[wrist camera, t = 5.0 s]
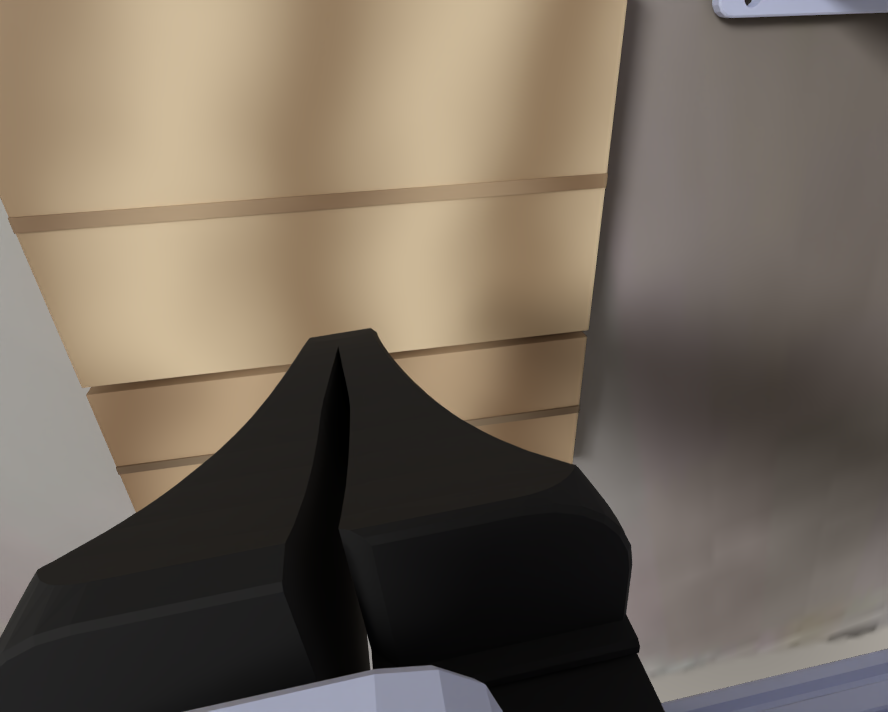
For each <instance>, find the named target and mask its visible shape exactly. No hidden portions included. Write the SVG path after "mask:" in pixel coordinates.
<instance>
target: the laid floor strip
mask: <svg viewBox="0 0 888 712" xmlns="http://www.w3.org/2000/svg"><path fill="white" fill-rule="evenodd" d="M586 340H587V337H586V336H585V334H584V333H583V332H582V331H576V332H567V333H558V334H550V335H541V336H532V337H523V338H515V339H506V340H497V341H488V342H480V343H471V344H462V345H453V346H444V347H436V348H427V349H418V350H409V351H401V352H392V353H389V354H390V355H391V357H392V358H393V359H394V360H395V361H396V363H397V364H398V365H399V366H400V367H401V368H402V369H403V370H404V372H405V373H406V374H407V375H408V376H409V377H410V378H411V379H412V380H413V381H414V382H415V383H416V384H417V385H418V386H419V387H420V388H422V389H423V390H424V391H425V392H426V393H427V394H428V395H429V396H431V397H432V398H433V399H434V400H435V401H437V402H438V403H439V404H440V405H442V406H443V407H445V408H446V409H447V410H449V411H450V412H451V413H453V414H454V415H456V416H457V417H459V418H460V419H462V420H464V421H465V422H467V423H469V424H471V425H473V426H474V427H476V428H478V429H480V430H482V431H484V432H486V433H487V434H490V435H492V436H494V437H496V438H498V439H500V440H503V441H505V442H508V443H510V444H512V445H515V446H517V447H520V448H522V449H525V450H528V451H530V452H534V453H537V454H540V455H544V456H547V457H550V458H554V459H557V460H560V461H563V462H567V463H570V464H572V462H573V453H574V445H575V436H576V427H577V418H578V413H579V408H580V406H579V401H580V392H581V384H582V375H583V366H584V358H585V349H586ZM290 366H291V364H287V365H278V366H269V367H260V368H252V369H243V370H234V371H225V372H216V373H208V374H199V375H190V376H181V377H173V378H164V379H155V380H146V381H138V382H129V383H120V384H111V385H102V386H94V387H91V388H90V390H89V392H88V393H87V395H86V396H87V398H88V401H89V403H90V405H91V408H92V410H93V412H94V415H95V417H96V419H97V422H98V424H99V426H100V429H101V431H102V434H103V436H104V438H105V441H106V443H107V445H108V448H109V450H110V452H111V455H112V457H113V459H114V462H115V464H116V466H117V467H116V469H117V472H118V474H119V475H120V476H121V478H122V481H123V483H124V485H125V488H126V490H127V492H128V495H129V497H130V499H131V502H132V504H133V506H134V509H135V511H136V512H138V511H140V510H141V509H143V508H144V507H146V506H147V505H149V504H150V503H152V502H153V501H154V500H156V499H157V498H159V497H160V496H162V495H163V494H164V493H166V492H167V491H169V490H170V489H171V488H173V487H174V486H175V485H177V484H178V483H179V482H180V481H182V480H183V479H184V478H185V477H187V476H188V475H189V474H190V473H192V472H193V471H194V470H195V469H197V468H198V467H199V466H200V465H201V464H203V463H204V462H205V461H206V460H208V459H209V458H210V457H211V456H213V455H214V454H215V453H216V452H217V451H218V450H219V449H220V448H221V447H222V446H223V445H224V444H226V443H227V442H228V441H229V440H230V439H231V438H232V437H233V436H234V435H235V434H236V433H237V432H238V431H239V430H240V429H241V428H242V427H243V426H244V425H245V424H246V423H247V422H248V420H249V419H250V418H251V417H252V416H253V415H254V414H255V412H256V411H257V410H258V409H259V407H260V406H261V405H262V404H263V403H264V401H265V400H266V399H267V398H268V397H269V395H270V394H271V393H272V391H273V390H274V388H275V387H276V386H277V384H278V383H279V382H280V380H281V379H282V377H283V376H284V375H285V373H286V372H287V370H288V369H289V367H290Z"/></svg>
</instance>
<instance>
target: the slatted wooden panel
mask: <svg viewBox="0 0 888 712" xmlns="http://www.w3.org/2000/svg"><path fill="white" fill-rule="evenodd" d="M626 6H627V0H0V198H1V200H2V202H3V205H4V207H5V209H6V212H7V214H8V216H9V218H8V220H9V222H10V225H11V227H12V229H13V232H14V234H16V235H17V237H18V240H19V242H20V244H21V247H22V249H23V251H24V254H25V256H26V258H27V261H28V263H29V265H30V268H31V270H32V272H33V275H34V277H35V279H36V282H37V284H38V286H39V289H40V291H41V293H42V296H43V298H44V300H45V303H46V305H47V307H48V309H49V312H50V314H51V316H52V319H53V321H54V323H55V326H56V328H57V330H58V333H59V335H60V337H61V340H62V342H63V344H64V347H65V349H66V351H67V354H68V356H69V358H70V361H71V363H72V365H73V368H74V370H75V372H76V375H77V377H78V379H79V382H80V384H81V386H82V388H85V387H94V386H102V385H111V384H120V383H129V382H138V381H146V380H155V379H164V378H173V377H181V376H190V375H199V374H208V373H216V372H225V371H234V370H243V369H252V368H260V367H269V366H278V365H287V364H292V363H293V361H294V360H295V358H296V357H297V355H298V354H299V352H300V351H301V349H302V347H303V346H304V345H305V343H306V342H307V341H308V339H309V338H311V337H318V336H324V335H330V334H336V333H342V332H348V331H355V330H361V329H367V328H372V329H373V330H374V331H376V332H377V334H378V337H379V339H380V341H381V342H382V344H383V345H384V347H385V348H386V350H387V351H388V353H392V352H401V351H409V350H418V349H427V348H436V347H444V346H453V345H462V344H471V343H480V342H488V341H497V340H506V339H515V338H523V337H532V336H541V335H550V334H558V333H567V332H576V331H585V330H588V329H589V320H590V312H591V303H592V295H593V286H594V278H595V269H596V261H597V252H598V244H599V235H600V227H601V218H602V210H603V201H604V193H605V188H606V185H607V176H608V174H607V167H608V159H609V150H610V142H611V133H612V125H613V116H614V108H615V99H616V91H617V82H618V74H619V65H620V57H621V48H622V40H623V31H624V23H625V14H626Z"/></svg>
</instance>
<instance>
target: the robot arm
mask: <svg viewBox="0 0 888 712" xmlns="http://www.w3.org/2000/svg"><path fill="white" fill-rule="evenodd" d="M712 6H713V9H714V12H715V13H716V14H717V15H718V16H719V17H723V18H744V17H772V16H801V15H829V14H857V13H886V12H888V0H752V1H751V2H750V3H749V4H748V6H747V5H746V4H745V0H712ZM631 570H632V553H631V544H630V543H629V541H628V539H627V537H626V535H625V533H624V530H623V528H622V527H621V525H620V523H619V521H618V519H617V518H616V516H615V515H614V513H613V511H612V510H611V508H610V507H609V506H608V504H607V503H606V502H605V500H604V499H603V498H602V496H601V495H600V494H599V492H598V491H597V490H596V489H595V487H594V486H593V485H592V484H591V482H590V481H589V480H588V479H587V477H586V476H585V475H584V474H583V473H582V471H581V470H580V469H579V468H578V467H577V466H576V465H573V464H570V463H567V462H563V461H560V460H557V459H554V458H550V457H547V456H544V455H540V454H537V453H534V452H530V451H528V450H525V449H522V448H520V447H517V446H515V445H512V444H510V443H508V442H505V441H503V440H500V439H498V438H496V437H494V436H492V435H490V434H487V433H486V432H484V431H482V430H480V429H478V428H476V427H474V426H473V425H471V424H469V423H467V422H465V421H464V420H462V419H460V418H459V417H457V416H456V415H454V414H453V413H451V412H450V411H449V410H447V409H446V408H445V407H443V406H442V405H440V404H439V403H438V402H437V401H435V400H434V399H433V398H432V397H431V396H429V395H428V394H427V393H426V392H425V391H424V390H423V389H422V388H420V387H419V386H418V385H417V384H416V383H415V382H414V381H413V380H412V379H411V378H410V377H409V376H408V375H407V374H406V373H405V372H404V370H403V369H402V368H401V367H400V366H399V365H398V364H397V363H396V361H395V360H394V359H393V358H392V357H391V355H390V354H389V353H388V351H387V350H386V348H385V347H384V345H383V344H382V342H381V341H380V339H379V337H378V334H377V332H376V331H374V330H373V329H372V328H367V329H361V330H355V331H348V332H342V333H336V334H330V335H324V336H318V337H311V338H309V339H308V341H307V342H306V343H305V345H304V346H303V347H302V349H301V351H300V352H299V354H298V355H297V357H296V358H295V360H294V361H293V363H292V364H291V366H290V367H289V369H288V370H287V372H286V373H285V375H284V376H283V377H282V379H281V380H280V382H279V383H278V384H277V386H276V387H275V388H274V390H273V391H272V393H271V394H270V395H269V397H268V398H267V399H266V400H265V401H264V403H263V404H262V405H261V406H260V407H259V409H258V410H257V411H256V412H255V414H254V415H253V416H252V417H251V418H250V419H249V420H248V422H247V423H246V424H245V425H244V426H243V427H242V428H241V429H240V430H239V431H238V432H237V433H236V434H235V435H234V436H233V437H232V438H231V439H230V440H229V441H228V442H227V443H226V444H224V445H223V446H222V447H221V448H220V449H219V450H218V451H217V452H216V453H215V454H214V455H213V456H211V457H210V458H209V459H208V460H206V461H205V462H204V463H203V464H201V465H200V466H199V467H198V468H197V469H195V470H194V471H193V472H192V473H190V474H189V475H188V476H187V477H185V478H184V479H183V480H182V481H180V482H179V483H178V484H177V485H175V486H174V487H173V488H171V489H170V490H169V491H167V492H166V493H164V494H163V495H162V496H160V497H159V498H157V499H156V500H154V501H153V502H152V503H150V504H149V505H147V506H146V507H144V508H143V509H141V510H140V511H138V512H136V513H135V514H133V515H132V516H130V517H129V518H127V519H126V520H124V521H123V522H121V523H119V524H118V525H116V526H114V527H113V528H111V529H110V530H108V531H106V532H105V533H103V534H101V535H99V536H97V537H96V538H94V539H92V540H90V541H89V542H87V543H85V544H83V545H81V546H80V547H78V548H76V549H74V550H73V551H71V552H69V553H67V554H66V555H64V556H62V557H60V558H58V559H57V560H55V561H53V562H51V563H49V564H47V565H45V566H43V567H42V568H40V569H38V570H37V572H36V573H35V575H34V577H33V578H32V580H31V582H30V583H29V585H28V587H27V589H26V591H25V592H24V594H23V596H22V598H21V600H20V601H19V603H18V605H17V607H16V609H15V611H14V613H13V615H12V616H11V618H10V620H9V622H8V624H7V626H6V628H5V630H4V632H3V634H2V636H1V637H0V712H888V649H884V650H880V651H876V652H872V653H868V654H864V655H859V656H855V657H851V658H847V659H843V660H838V661H834V662H830V663H826V664H822V665H818V666H814V667H809V668H805V669H801V670H797V671H793V672H789V673H785V674H781V675H777V676H772V677H768V678H764V679H760V680H756V681H751V682H747V683H743V684H739V685H735V686H731V687H726V688H722V689H718V690H714V691H710V692H706V693H701V694H697V695H693V696H689V697H685V698H681V699H676V700H672V701H668V702H664V703H661V702H660V700H659V698H658V696H657V694H656V692H655V690H654V688H653V686H652V684H651V682H650V680H649V678H648V676H647V674H646V671H645V669H644V667H643V665H642V663H641V661H640V659H639V657H638V655H637V653H639V649H640V645H639V641H638V637H637V635H636V633H635V631H634V629H633V627H632V625H631V623H630V621H629V619H628V617H627V615H626V609H627V601H628V593H629V586H630V578H631ZM367 635H368V639H369V642H370V646H371V650H372V664H373V670H370V662H369V651H368V641H367Z"/></svg>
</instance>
